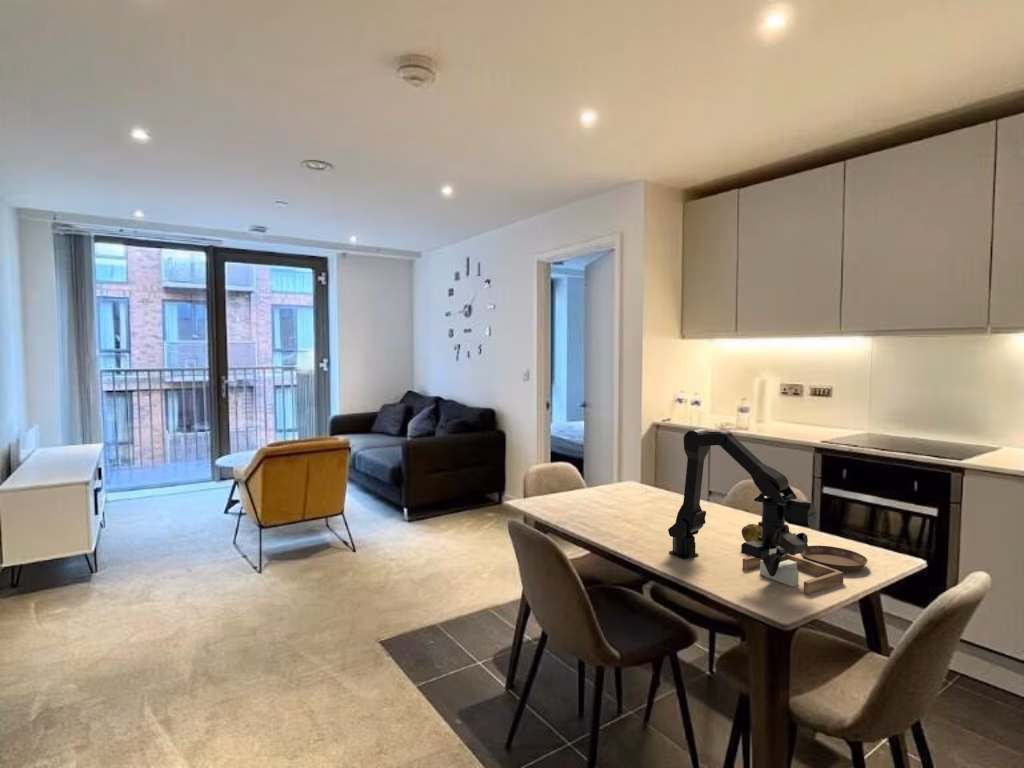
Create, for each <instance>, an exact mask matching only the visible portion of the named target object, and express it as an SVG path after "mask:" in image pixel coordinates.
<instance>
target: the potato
mask: <svg viewBox="0 0 1024 768" xmlns="http://www.w3.org/2000/svg"><path fill="white" fill-rule="evenodd" d="M741 536H742V538H743V540H744V541H745V542H749V541H755V542H758V543H761V544H762V541H759V540H758V537H759V536H762V527H761V526H758V524H755V523H751V524H750V523H749V524H747V525H745V526H743V527H742V529H741Z"/></svg>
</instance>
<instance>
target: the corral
mask: <svg viewBox="0 0 1024 768" xmlns="http://www.w3.org/2000/svg"><path fill="white" fill-rule="evenodd" d="M760 560H762V559H759V558H755V557H752V556H747V557H744V558H742V569H743V570H745V571H748V570H751V569H754V568H758V567H759V568H760ZM786 560H792V561H795V562H797V570H800V571H803V572H806V573H809V574H812V575H814V576H818V577H814V578H812V579H811V578H810V579H809V580H805V581H803V591H802V593H803V594H806V595H811V594H813V593H817V592H820V591H823V590H825V589H829V588H832V587H835V586H838V585H842V584H844V572H841V571H838V570H835V569H832V568H829V567H827V566H824V565H821V564H818V563H815V562H812V561H809V560H806V559H804V558H803V557H800V556H797V555H790V554H787V555H785V556H784V557H782V559H781V561H780V562H782V561H786Z"/></svg>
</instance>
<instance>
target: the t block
mask: <svg viewBox="0 0 1024 768" xmlns="http://www.w3.org/2000/svg"><path fill="white" fill-rule="evenodd" d="M799 570H800V569H798V568H797V562H795V561H792V560H786V561H782V562H780V564H779V566H778V569H777V571H776V574H775V576H770V575H769V573H768V571H767V569H766V567H765V564H764V562H763V560H760V566H759V575H761V576H763V577H766V578H769V579H772V580H774V581H777V582H780V583H782V584H785V585H788V586H790V587H793V588H794V587H795V586H798V585H799V577H800V576H799V575H800V573H799V572H800V571H799Z"/></svg>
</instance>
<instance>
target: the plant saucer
mask: <svg viewBox="0 0 1024 768" xmlns="http://www.w3.org/2000/svg"><path fill="white" fill-rule="evenodd" d="M800 556H801V558H803V559H806V560H809V561H812V562H815V563H818V564H821V565H824V566H827V567H829V568H832V569H835V570H838V571H841V572H843V573H855V572H858V571H860V570H862V569H863V568H864V566H865V565H867V563H868V561H869V559H868V558H867V556H864V555H862V554H861V553H858V552H856V551H853V550H850V549H847V548H844V547H843V548H841V547H836V546H830V545H808V547H805V548H804V549H803V551H802V553H801V554H800Z"/></svg>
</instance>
